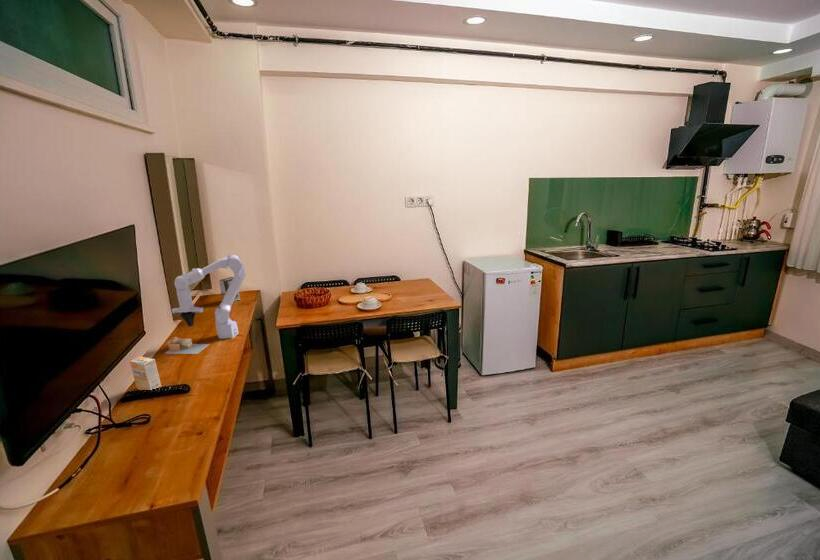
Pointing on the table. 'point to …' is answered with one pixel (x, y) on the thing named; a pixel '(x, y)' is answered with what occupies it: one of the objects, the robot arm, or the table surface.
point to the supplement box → (145, 373)
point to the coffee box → (225, 285)
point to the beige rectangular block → (183, 343)
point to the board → (193, 350)
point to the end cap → (173, 345)
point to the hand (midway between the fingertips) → (190, 325)
